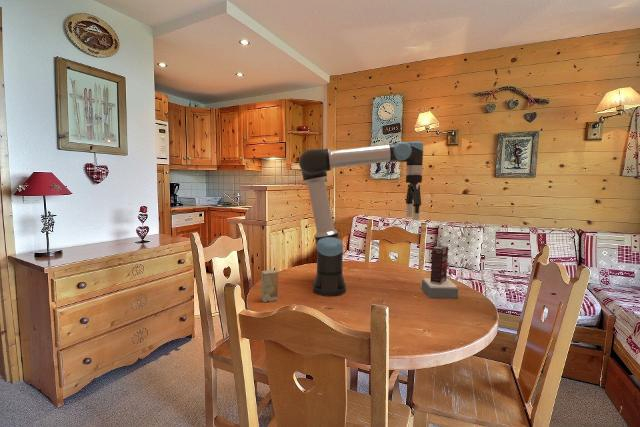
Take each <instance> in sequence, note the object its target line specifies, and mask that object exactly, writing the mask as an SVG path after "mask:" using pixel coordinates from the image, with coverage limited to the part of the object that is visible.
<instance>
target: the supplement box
mask: <svg viewBox="0 0 640 427" xmlns="http://www.w3.org/2000/svg"><path fill="white" fill-rule="evenodd" d="M431 250H432V251H431V265H430V279H431V280H430V283H433V284H438V285H441V284H442V283H443V282H445V281H446V279H448V276H447V275H448V274H447V273H448V257H449V246H448V245H447V246H446V245H440V244H439V245H436V246H434V247H432V249H431Z"/></svg>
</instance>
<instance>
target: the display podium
mask: <svg viewBox="0 0 640 427" xmlns="http://www.w3.org/2000/svg"><path fill="white" fill-rule="evenodd" d="M422 278H423V277H422ZM430 280H431V278H427V277H425V278H423V279H422V280H421V290H422V291H423V292H424V293H425V295H426V296H427V297H428V298H429V299H458V298H459V288H458V286H457V285H456V284H454V283H453V282H452V281H451V280H450V279H448V278H446V281H445V282H443V283H442V284H441V285H438V284H433V283H430Z"/></svg>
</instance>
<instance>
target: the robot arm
mask: <svg viewBox="0 0 640 427" xmlns="http://www.w3.org/2000/svg"><path fill="white" fill-rule="evenodd" d="M423 159H424V143H423V142H422V141H414V140H413V141H407V142H406V141H405V142H404V141H399V142H398V143H397V142H395V143H389V144H388V143H387V144H380V145H379V144H378V145H371V146H370V145H369V146H363V147H362V146H361V147H351V148H343V149H335V150H334V149H333V150H331V149H329V148H323V149H322V148H321V149H317V148H316V149H315V148H311V149H306V150H304V151H303V152H302V153H301V154H300V157H299V159H298V165H299V168H300V170H301V175H302V179H303V182H304V183H305V184H306V185H307V190H308V194H309V200H310V204H311V209H312V214H313V219H314V225H315V229H316V233H315V234H314V240H315V241H314V242H315V247H316V275H315V279H314V281H313V284H312V291H313V293H315V294H317V295H320V296H326V297H328V296H329V297H336V296H340V295H343V294H346V292H347V284H346V282H345V277H344V275H343V257H344V256H343V255H344V254H343V253H344V252H343V251H344V244H343V241H342V240H341V239H340V237H339V232H338V230H336V229H335V227H334V222H333V218H332V216H333V215H332V213H331V206H330V200H329V197H328V196H329V194H328V191H327V190H328V189H327V186H326V184H327V183H326V179H327V178H328V174H327V172H329V171H332V170H333V169H335V168H344V167H353V166H361V165H370V164H371V165H372V164H379V163H381V164H382V163H406V166H405V174H406V175H405V183H406V184H407V183H408V184H407V192H406V198H405V203H406V214H405V215H406V217H407V218H412V221H420V207H421V206H422V198H421V195H422V194H421V185H420V184H421V183H423V170H424V167H423V164H424V162H423V161H424V160H423Z"/></svg>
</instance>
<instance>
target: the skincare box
mask: <svg viewBox="0 0 640 427" xmlns="http://www.w3.org/2000/svg"><path fill="white" fill-rule="evenodd" d="M278 281H279V272H278V271H277V269H268V270H261V271H260V300H261V301H262V302H263V303H266V302H267V301H269V302H274V301H273V300H276V301H278V299H279V298H278V295H279V294H278V293H279V292H278V289H279V288H278V287H279V282H278ZM267 303H268V302H267Z"/></svg>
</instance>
